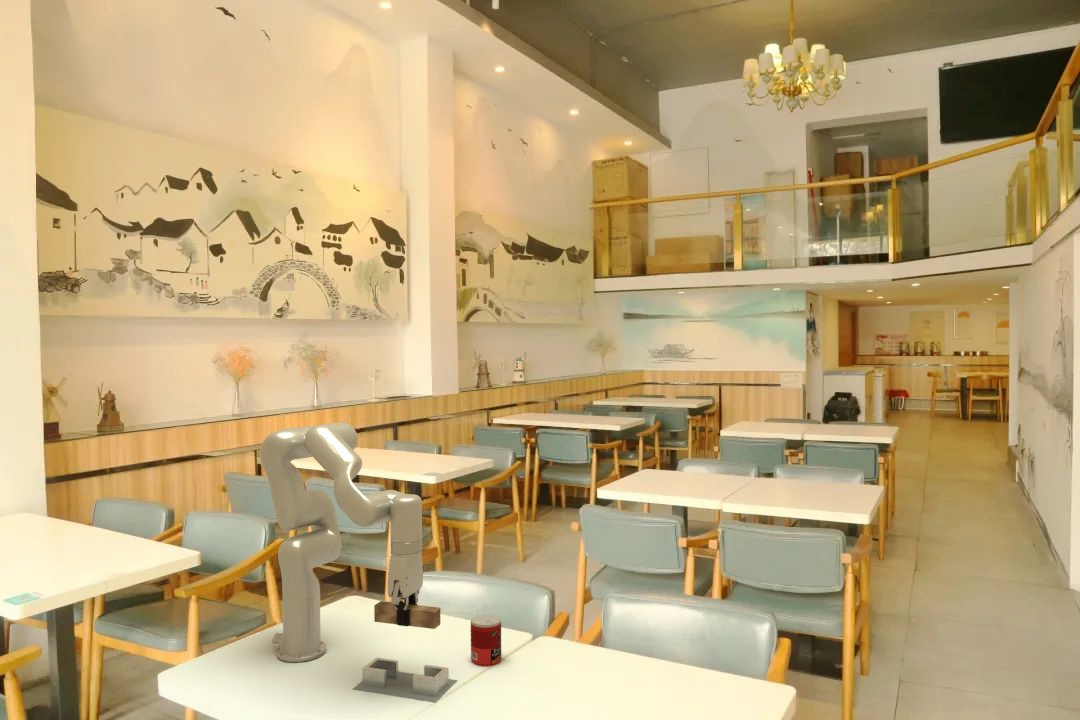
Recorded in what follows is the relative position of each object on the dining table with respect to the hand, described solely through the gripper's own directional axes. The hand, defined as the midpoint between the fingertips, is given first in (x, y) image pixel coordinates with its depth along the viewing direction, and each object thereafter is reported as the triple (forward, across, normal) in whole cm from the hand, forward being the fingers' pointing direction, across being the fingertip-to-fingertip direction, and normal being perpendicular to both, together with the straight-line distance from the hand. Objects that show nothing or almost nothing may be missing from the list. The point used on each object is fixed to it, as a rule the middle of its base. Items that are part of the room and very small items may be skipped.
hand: (407, 621), depth 179 cm
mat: (+15, +1, 0) cm, 15 cm away
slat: (0, 0, 0) cm, 0 cm away
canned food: (+16, -18, +13) cm, 27 cm away
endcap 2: (+15, +1, +7) cm, 16 cm away
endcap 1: (+15, +1, -7) cm, 16 cm away
